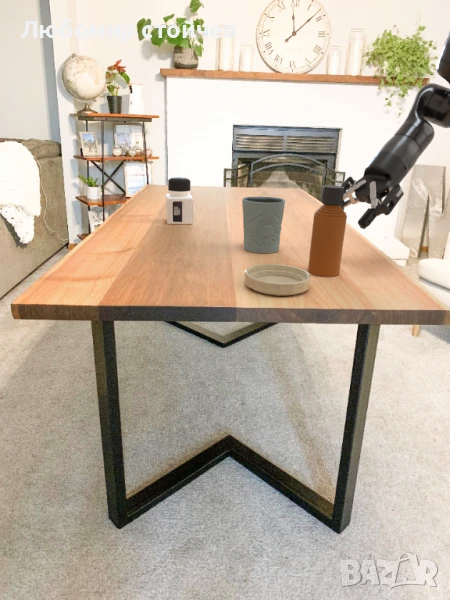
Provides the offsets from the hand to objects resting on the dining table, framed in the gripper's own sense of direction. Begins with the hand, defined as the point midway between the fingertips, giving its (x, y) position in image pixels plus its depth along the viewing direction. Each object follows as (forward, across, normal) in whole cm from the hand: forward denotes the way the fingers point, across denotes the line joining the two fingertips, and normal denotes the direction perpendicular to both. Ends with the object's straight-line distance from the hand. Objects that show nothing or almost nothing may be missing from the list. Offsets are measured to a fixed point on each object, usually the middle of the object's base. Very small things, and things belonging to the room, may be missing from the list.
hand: (345, 221), depth 91 cm
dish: (+20, +3, -6) cm, 21 cm away
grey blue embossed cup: (+11, -21, +3) cm, 24 cm away
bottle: (+10, 0, +4) cm, 11 cm away
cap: (0, 0, -6) cm, 6 cm away
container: (+15, -57, 0) cm, 59 cm away
